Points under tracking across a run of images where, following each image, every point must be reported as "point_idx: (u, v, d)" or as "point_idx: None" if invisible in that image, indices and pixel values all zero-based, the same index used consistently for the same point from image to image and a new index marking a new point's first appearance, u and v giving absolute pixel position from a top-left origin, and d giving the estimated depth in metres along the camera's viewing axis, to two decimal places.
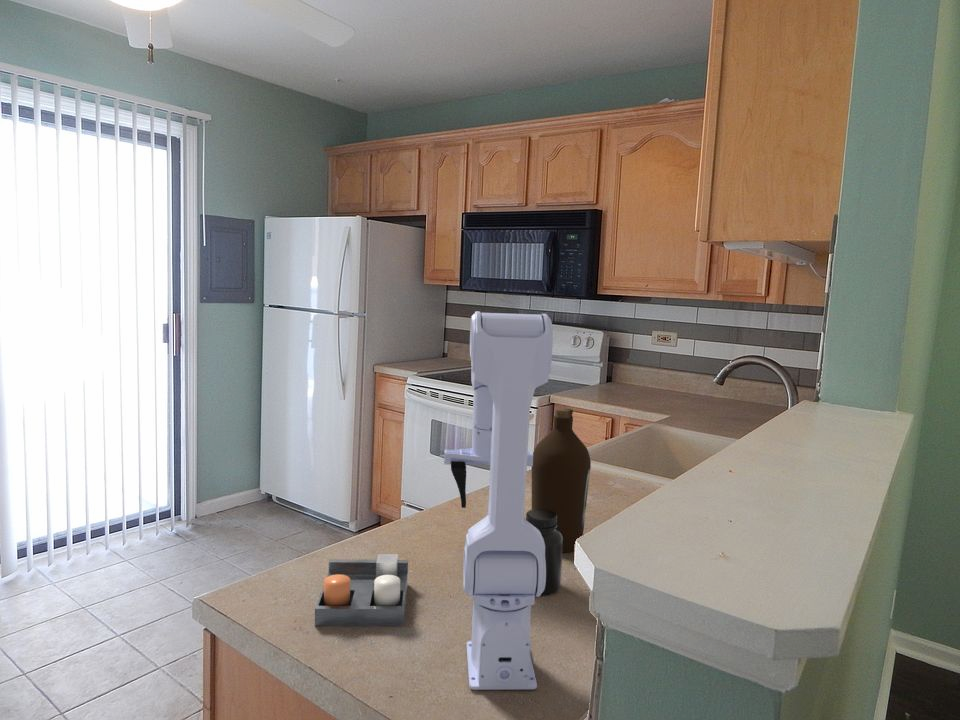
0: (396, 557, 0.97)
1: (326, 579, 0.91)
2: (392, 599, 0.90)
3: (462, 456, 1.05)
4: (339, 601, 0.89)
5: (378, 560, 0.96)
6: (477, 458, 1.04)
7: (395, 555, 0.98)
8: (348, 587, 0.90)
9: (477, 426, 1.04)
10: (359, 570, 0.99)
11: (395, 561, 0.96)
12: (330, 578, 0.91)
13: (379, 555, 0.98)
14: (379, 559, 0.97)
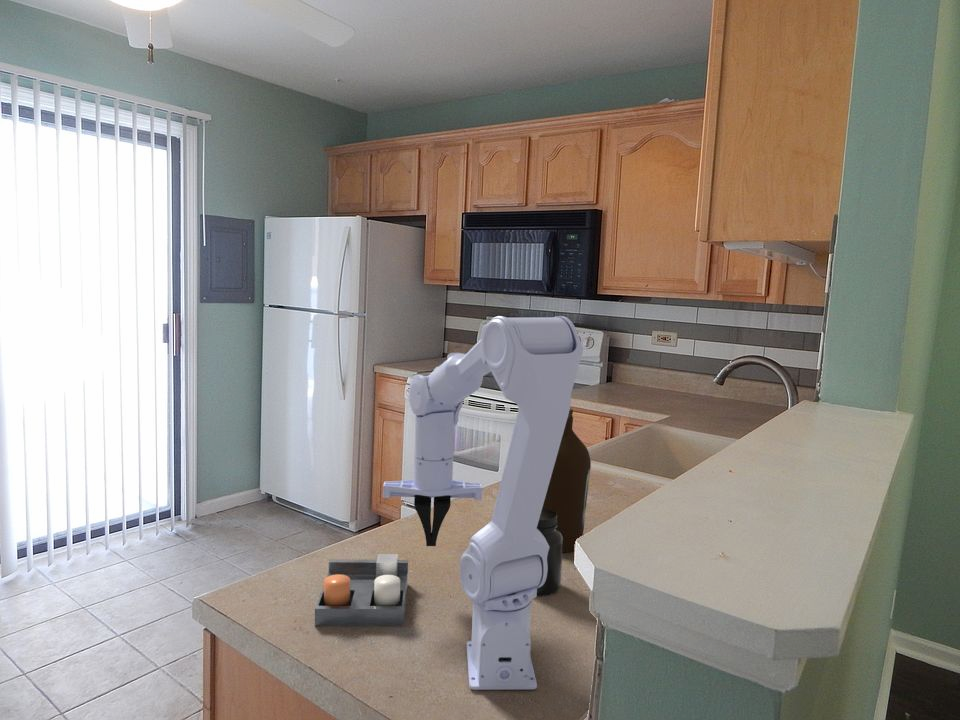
0: (396, 557, 0.97)
1: (326, 579, 0.91)
2: (392, 599, 0.90)
3: (402, 489, 0.94)
4: (339, 601, 0.89)
5: (378, 560, 0.96)
6: (418, 492, 0.93)
7: (395, 555, 0.98)
8: (348, 587, 0.90)
9: (426, 458, 0.92)
10: (359, 570, 0.99)
11: (395, 561, 0.96)
12: (330, 578, 0.91)
13: (379, 555, 0.98)
14: (379, 559, 0.97)
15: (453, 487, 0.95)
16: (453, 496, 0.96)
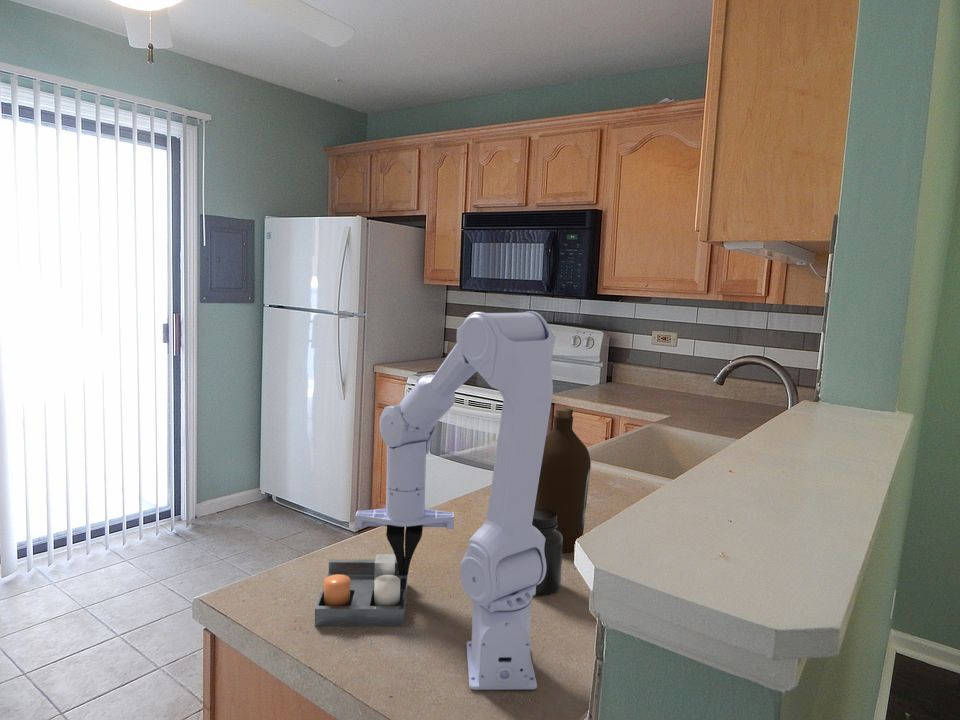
0: (394, 557, 0.97)
1: (326, 579, 0.91)
2: (392, 599, 0.90)
3: (374, 519, 0.94)
4: (339, 601, 0.89)
5: (376, 560, 0.96)
6: (390, 522, 0.94)
7: (393, 555, 0.98)
8: (348, 587, 0.90)
9: (400, 489, 0.93)
10: (359, 570, 0.99)
11: (393, 561, 0.96)
12: (330, 578, 0.91)
13: (377, 555, 0.98)
14: (377, 559, 0.96)
15: (425, 516, 0.96)
16: (425, 525, 0.96)
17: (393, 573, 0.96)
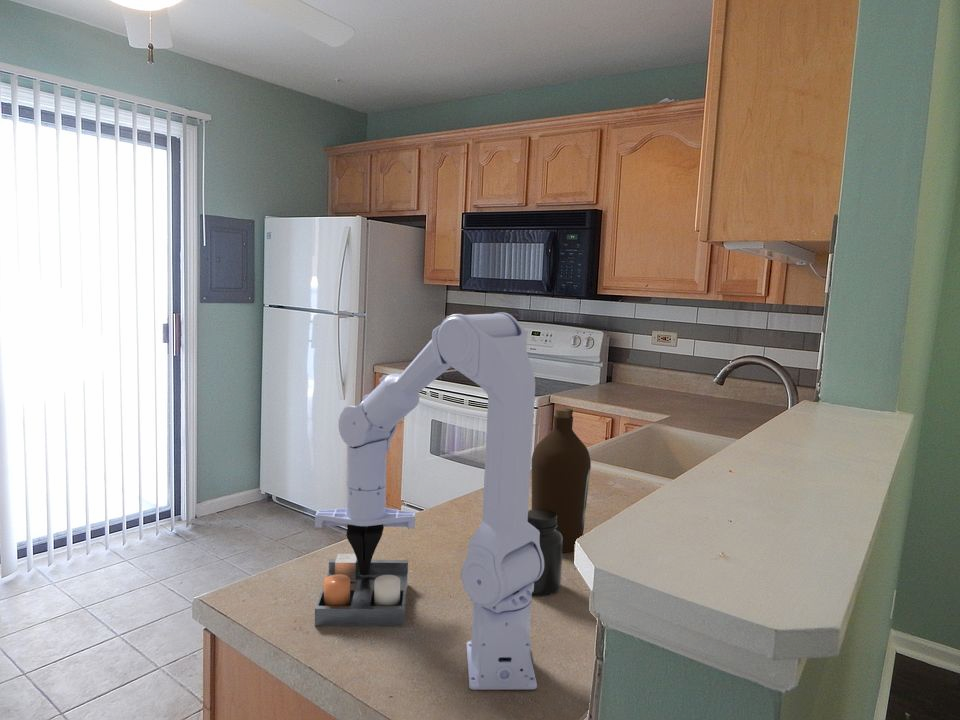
0: None
1: (326, 579, 0.91)
2: (392, 599, 0.90)
3: (334, 519, 0.94)
4: (339, 601, 0.89)
5: (337, 560, 0.96)
6: (350, 521, 0.93)
7: (355, 555, 0.98)
8: (348, 587, 0.90)
9: (363, 488, 0.92)
10: (359, 570, 0.99)
11: (354, 561, 0.96)
12: (330, 578, 0.91)
13: (339, 555, 0.97)
14: (338, 558, 0.96)
15: (386, 516, 0.95)
16: (386, 525, 0.96)
17: (354, 573, 0.95)
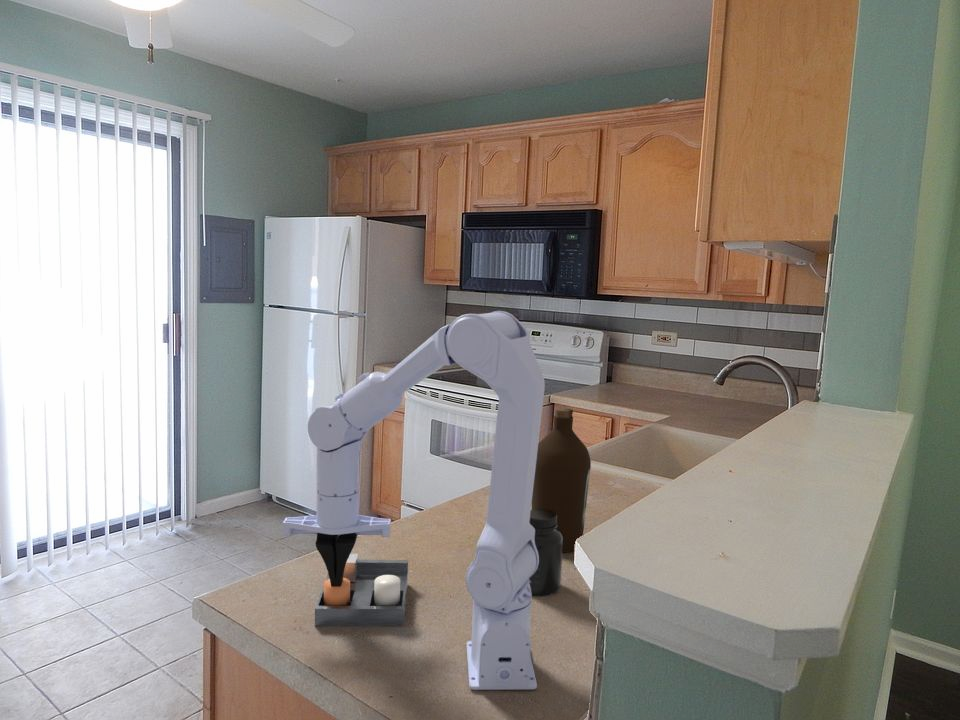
0: (355, 557, 0.97)
1: (325, 582, 0.91)
2: (392, 599, 0.90)
3: (302, 527, 0.88)
4: (339, 604, 0.89)
5: None
6: (319, 530, 0.87)
7: (355, 555, 0.98)
8: (348, 590, 0.90)
9: (339, 494, 0.86)
10: (359, 570, 0.99)
11: (354, 561, 0.96)
12: None
13: None
14: None
15: (359, 524, 0.89)
16: (359, 533, 0.90)
17: (353, 573, 0.95)
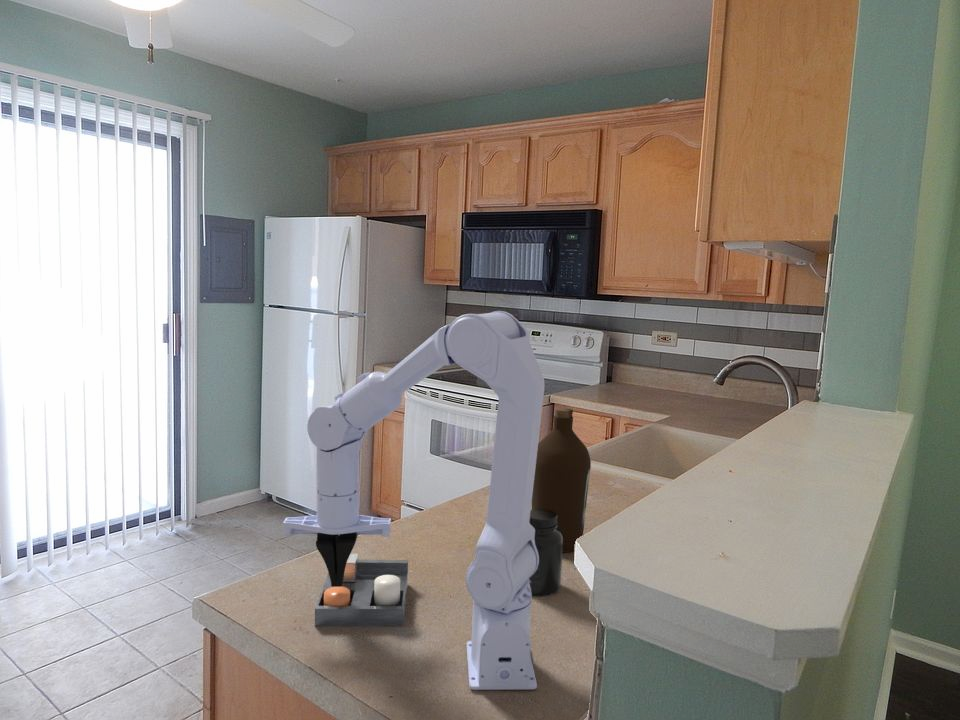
0: (355, 557, 0.97)
1: (325, 592, 0.91)
2: (392, 599, 0.90)
3: (303, 527, 0.88)
4: None
5: None
6: (319, 529, 0.87)
7: (355, 555, 0.98)
8: (348, 599, 0.90)
9: (339, 494, 0.86)
10: (359, 570, 0.99)
11: (354, 561, 0.96)
12: (330, 590, 0.91)
13: None
14: None
15: (359, 523, 0.89)
16: (359, 533, 0.89)
17: (353, 573, 0.95)
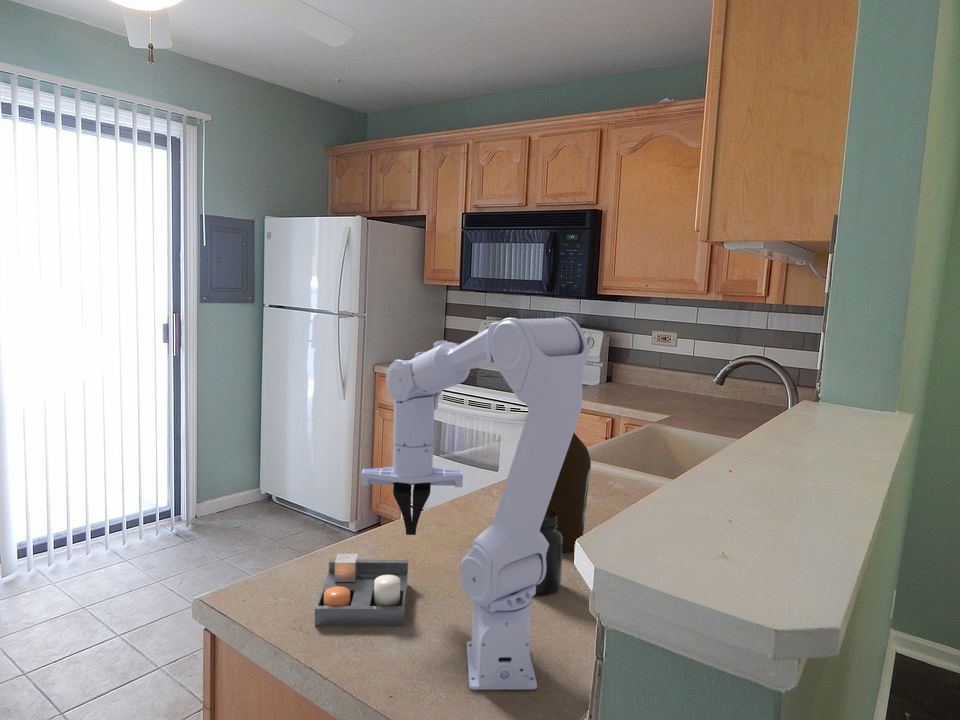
0: (355, 557, 0.97)
1: (325, 592, 0.91)
2: (392, 599, 0.90)
3: (381, 476, 0.92)
4: None
5: (337, 560, 0.96)
6: (397, 479, 0.91)
7: (355, 555, 0.98)
8: (348, 599, 0.90)
9: (408, 444, 0.90)
10: (359, 570, 0.99)
11: (354, 561, 0.96)
12: (330, 590, 0.91)
13: (338, 555, 0.97)
14: (338, 558, 0.96)
15: (433, 474, 0.93)
16: (433, 484, 0.94)
17: (353, 573, 0.95)
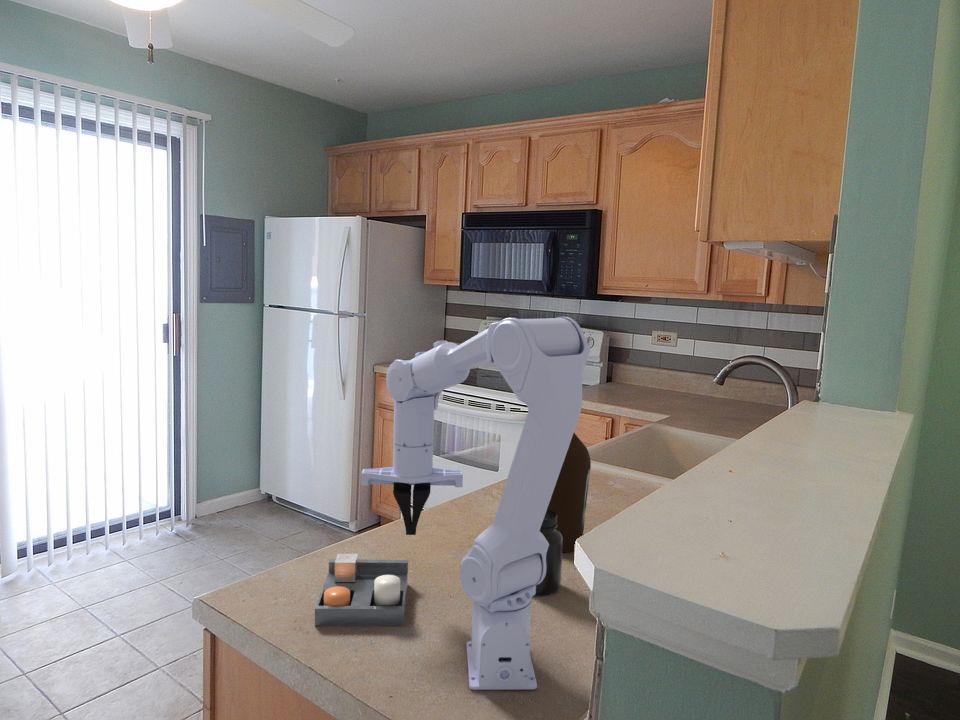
0: (355, 557, 0.97)
1: (325, 592, 0.91)
2: (392, 599, 0.90)
3: (381, 476, 0.92)
4: None
5: (337, 560, 0.96)
6: (397, 479, 0.91)
7: (355, 555, 0.98)
8: (348, 599, 0.90)
9: (408, 444, 0.90)
10: (359, 570, 0.99)
11: (354, 561, 0.96)
12: (330, 590, 0.91)
13: (338, 555, 0.97)
14: (338, 558, 0.96)
15: (433, 474, 0.93)
16: (433, 484, 0.94)
17: (353, 573, 0.95)
